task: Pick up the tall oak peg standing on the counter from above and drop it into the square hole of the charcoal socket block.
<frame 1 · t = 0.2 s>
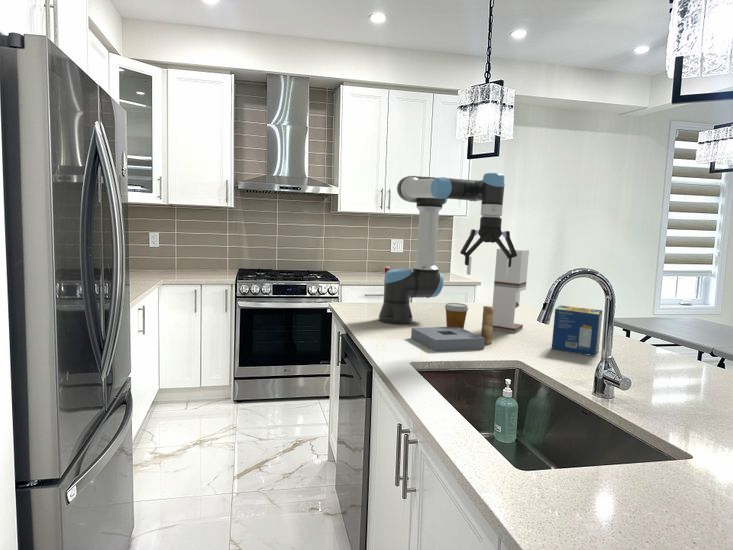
hand: (487, 275, 188), 27 cm above the worktop, tool pointing down, fingers open, 13 cm apart
oak peg: (486, 343, 197), on the worktop
protein box: (574, 350, 193), on the worktop
socket block: (446, 343, 194), on the worktop
disposable coffee cup: (454, 333, 212), on the worktop
white banded pillar: (506, 329, 225), on the worktop
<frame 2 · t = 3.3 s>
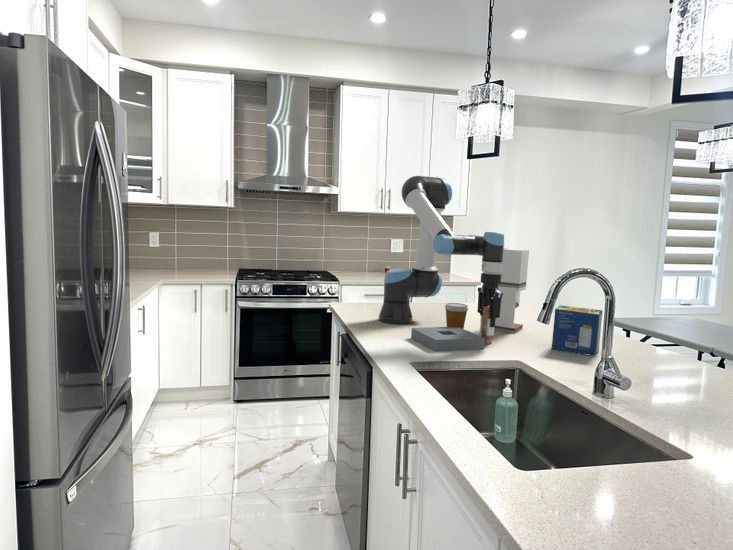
hand: (486, 333, 197), 4 cm above the worktop, tool pointing down, fingers closed on oak peg, 4 cm apart
oak peg: (486, 343, 197), on the worktop, touching gripper
everything else where it was.
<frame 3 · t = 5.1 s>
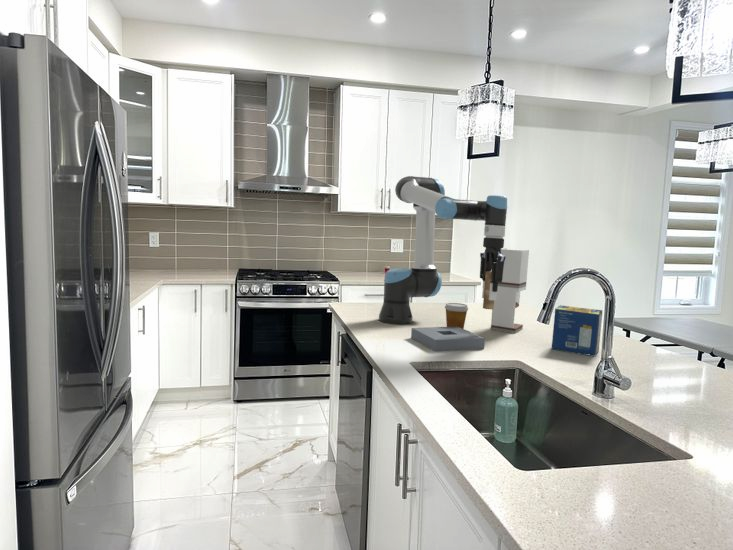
hand: (489, 298, 196), 17 cm above the worktop, tool pointing down, fingers closed on oak peg, 4 cm apart
oak peg: (488, 308, 196), point 13 cm above the worktop, touching gripper
everything else where it was.
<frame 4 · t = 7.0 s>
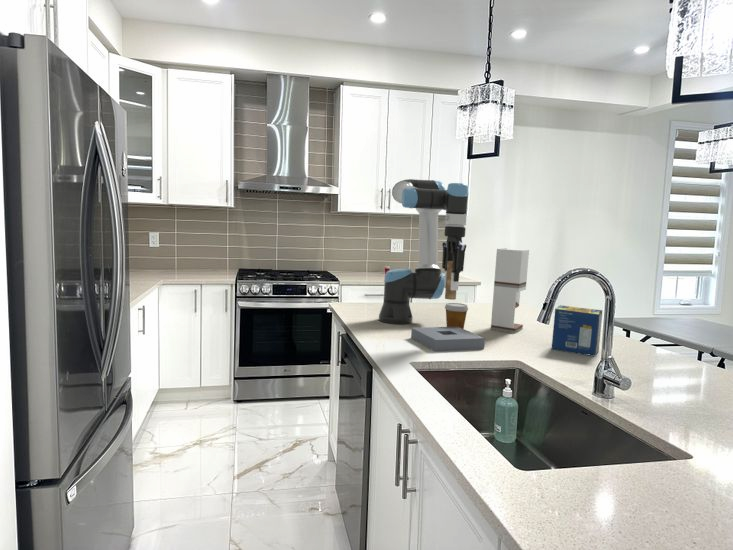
hand: (451, 289, 192), 21 cm above the worktop, tool pointing down, fingers closed on oak peg, 4 cm apart
oak peg: (450, 298, 192), point 17 cm above the worktop, touching gripper
everything else where it was.
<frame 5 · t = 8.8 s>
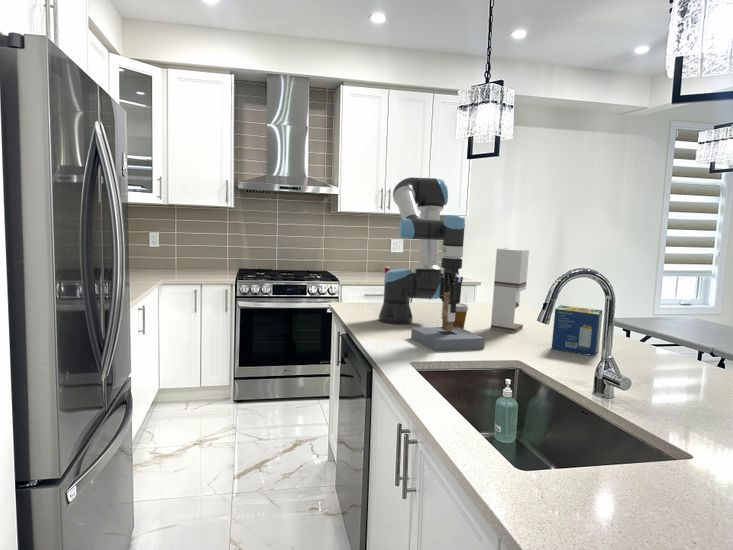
hand: (448, 319, 193), 9 cm above the worktop, tool pointing down, fingers closed on oak peg, 4 cm apart
oak peg: (447, 329, 193), point 5 cm above the worktop, touching gripper
everything else where it was.
when the fingers open (6 cm above the worktop, at t = 10.6 s): oak peg stays where it is, resting on socket block.
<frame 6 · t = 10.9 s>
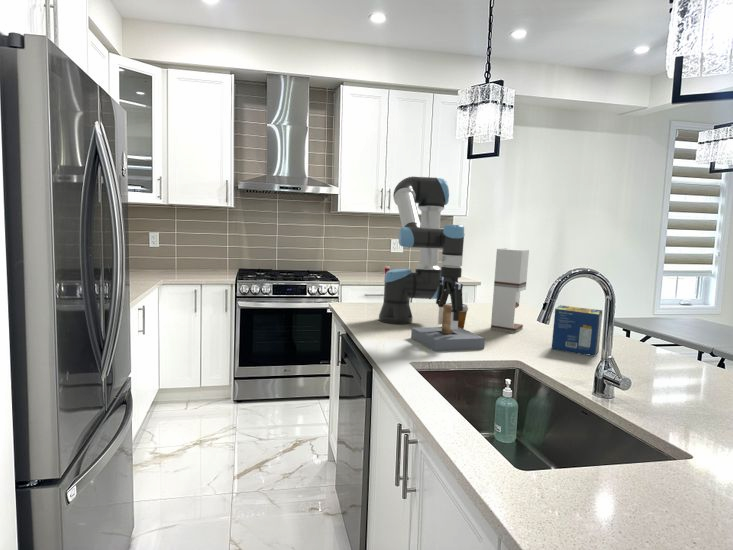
hand: (447, 326, 193), 6 cm above the worktop, tool pointing down, fingers open, 9 cm apart
oak peg: (446, 341, 194), point 1 cm above the worktop, touching socket block
everything else where it was.
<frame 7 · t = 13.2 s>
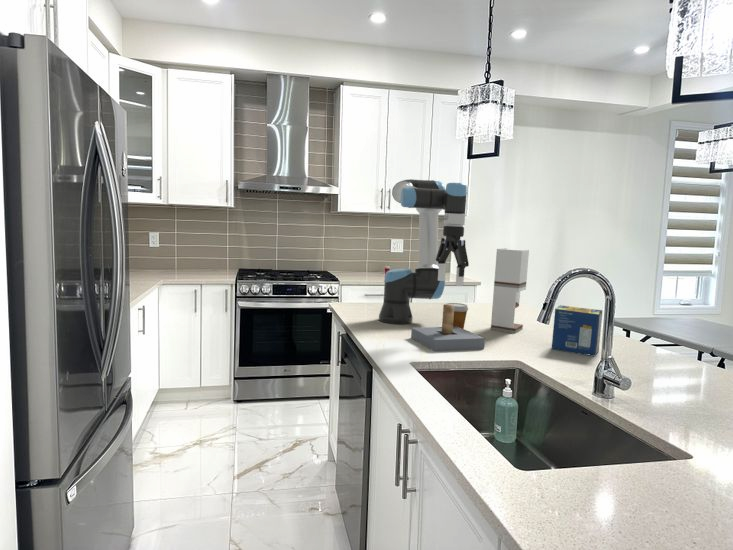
hand: (450, 283, 191), 23 cm above the worktop, tool pointing down, fingers open, 13 cm apart
nothing on the worktop moved.
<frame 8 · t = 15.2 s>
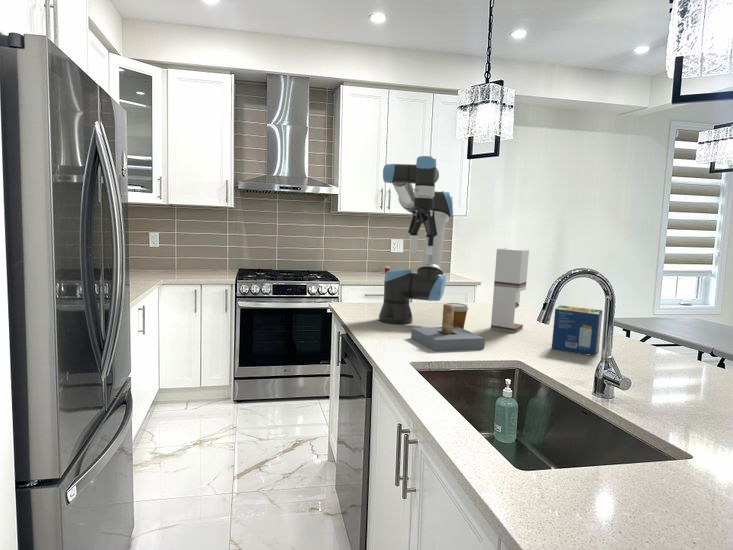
hand: (420, 253, 199), 33 cm above the worktop, tool pointing down, fingers open, 13 cm apart
nothing on the worktop moved.
at the end: oak peg 0.1 cm off-centre on the socket block, point 0.5 cm above the socket block's base; oak peg tilted 0°; the gripper is holding nothing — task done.
